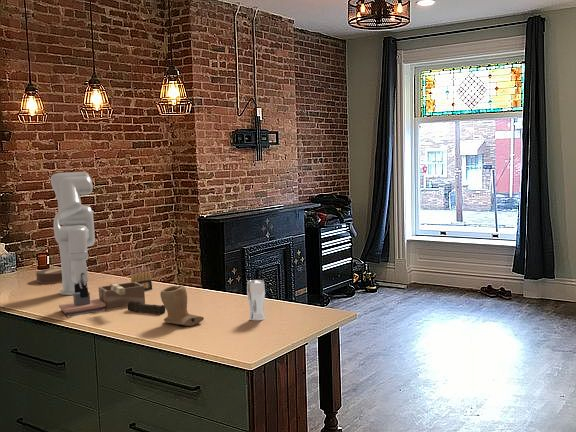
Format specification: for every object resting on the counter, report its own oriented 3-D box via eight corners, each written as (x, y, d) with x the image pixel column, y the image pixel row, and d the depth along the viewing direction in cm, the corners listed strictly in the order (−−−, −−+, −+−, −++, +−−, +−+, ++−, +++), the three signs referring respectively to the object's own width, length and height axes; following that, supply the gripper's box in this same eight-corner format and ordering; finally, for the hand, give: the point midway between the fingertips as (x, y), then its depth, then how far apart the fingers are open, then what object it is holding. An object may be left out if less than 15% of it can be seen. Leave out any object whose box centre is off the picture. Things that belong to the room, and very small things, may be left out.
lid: (59, 309, 275) (57, 293, 274) (98, 303, 284) (97, 287, 283) (65, 315, 265) (64, 298, 264) (105, 308, 273) (104, 292, 273)
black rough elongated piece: (166, 313, 264) (166, 302, 263) (160, 315, 260) (159, 304, 260) (132, 309, 273) (131, 299, 273) (125, 311, 270) (125, 301, 269)
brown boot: (155, 324, 246) (153, 286, 244) (179, 317, 255) (177, 281, 253) (181, 330, 236) (179, 291, 235) (205, 323, 245) (203, 285, 244)
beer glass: (259, 322, 244) (257, 283, 242) (244, 320, 247) (243, 282, 246) (269, 317, 250) (267, 280, 248) (255, 315, 253) (253, 279, 252)
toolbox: (99, 304, 284) (98, 287, 283) (136, 298, 293) (135, 281, 292) (107, 309, 274) (105, 291, 273) (145, 303, 282) (144, 285, 282)
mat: (61, 309, 276) (61, 308, 276) (95, 304, 284) (95, 303, 284) (68, 316, 264) (68, 315, 264) (104, 310, 272) (104, 309, 272)
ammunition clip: (132, 293, 305) (130, 268, 304) (130, 292, 307) (129, 268, 305) (152, 289, 312) (151, 265, 311) (150, 289, 313) (149, 265, 312)
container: (53, 276, 359) (52, 265, 358) (82, 277, 352) (82, 266, 352) (28, 284, 340) (27, 272, 340) (58, 285, 334) (58, 274, 333)
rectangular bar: (110, 289, 270) (110, 283, 269) (115, 288, 271) (114, 283, 270) (120, 295, 258) (120, 289, 258) (125, 294, 259) (124, 288, 259)
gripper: (65, 254, 277) (68, 293, 279) (74, 259, 262) (77, 300, 264) (82, 252, 281) (85, 290, 283) (92, 257, 266) (95, 297, 268)
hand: (81, 295), depth 273 cm, fingers open, 9 cm apart
